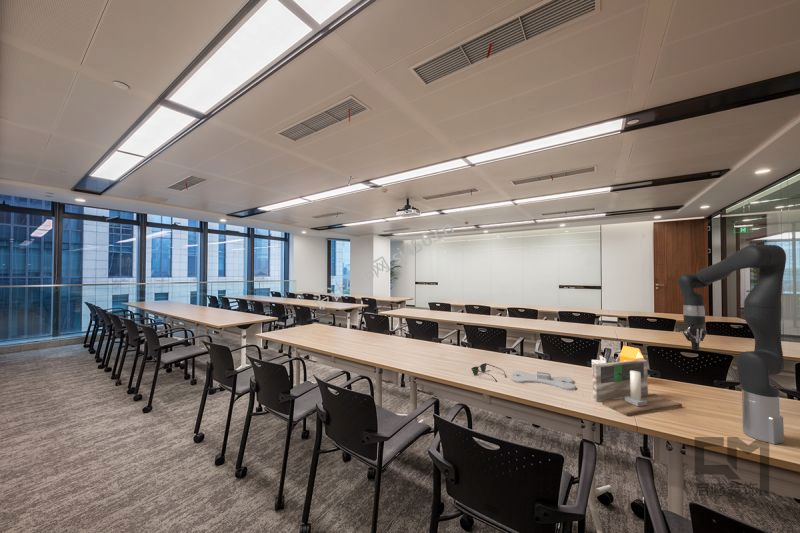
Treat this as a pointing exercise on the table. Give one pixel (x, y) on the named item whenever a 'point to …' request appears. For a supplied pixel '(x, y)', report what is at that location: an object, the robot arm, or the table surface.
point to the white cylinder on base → (635, 389)
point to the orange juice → (630, 354)
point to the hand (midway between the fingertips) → (695, 350)
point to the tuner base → (625, 388)
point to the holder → (543, 379)
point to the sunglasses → (483, 369)
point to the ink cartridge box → (598, 362)
